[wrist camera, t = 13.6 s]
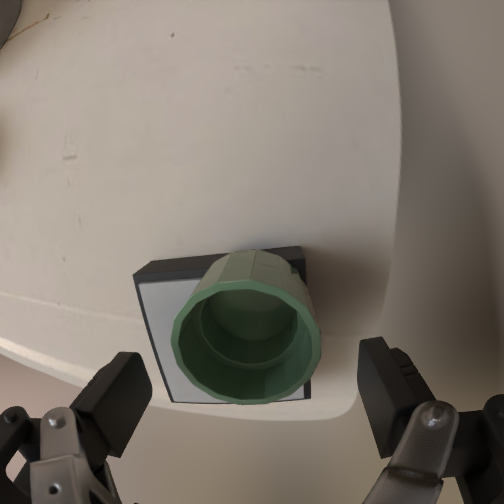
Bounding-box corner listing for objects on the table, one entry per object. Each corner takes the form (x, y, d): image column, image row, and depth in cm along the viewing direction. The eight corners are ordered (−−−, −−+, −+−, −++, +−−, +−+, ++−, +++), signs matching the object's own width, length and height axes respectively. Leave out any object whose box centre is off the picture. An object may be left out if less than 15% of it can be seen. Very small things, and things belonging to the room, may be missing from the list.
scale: (299, 245, 18) (305, 260, 15) (307, 373, 20) (311, 402, 17) (150, 261, 19) (129, 276, 16) (181, 378, 21) (169, 406, 18)
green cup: (303, 241, 15) (318, 272, 10) (309, 341, 16) (321, 399, 11) (190, 253, 15) (155, 287, 10) (209, 348, 17) (189, 405, 12)
